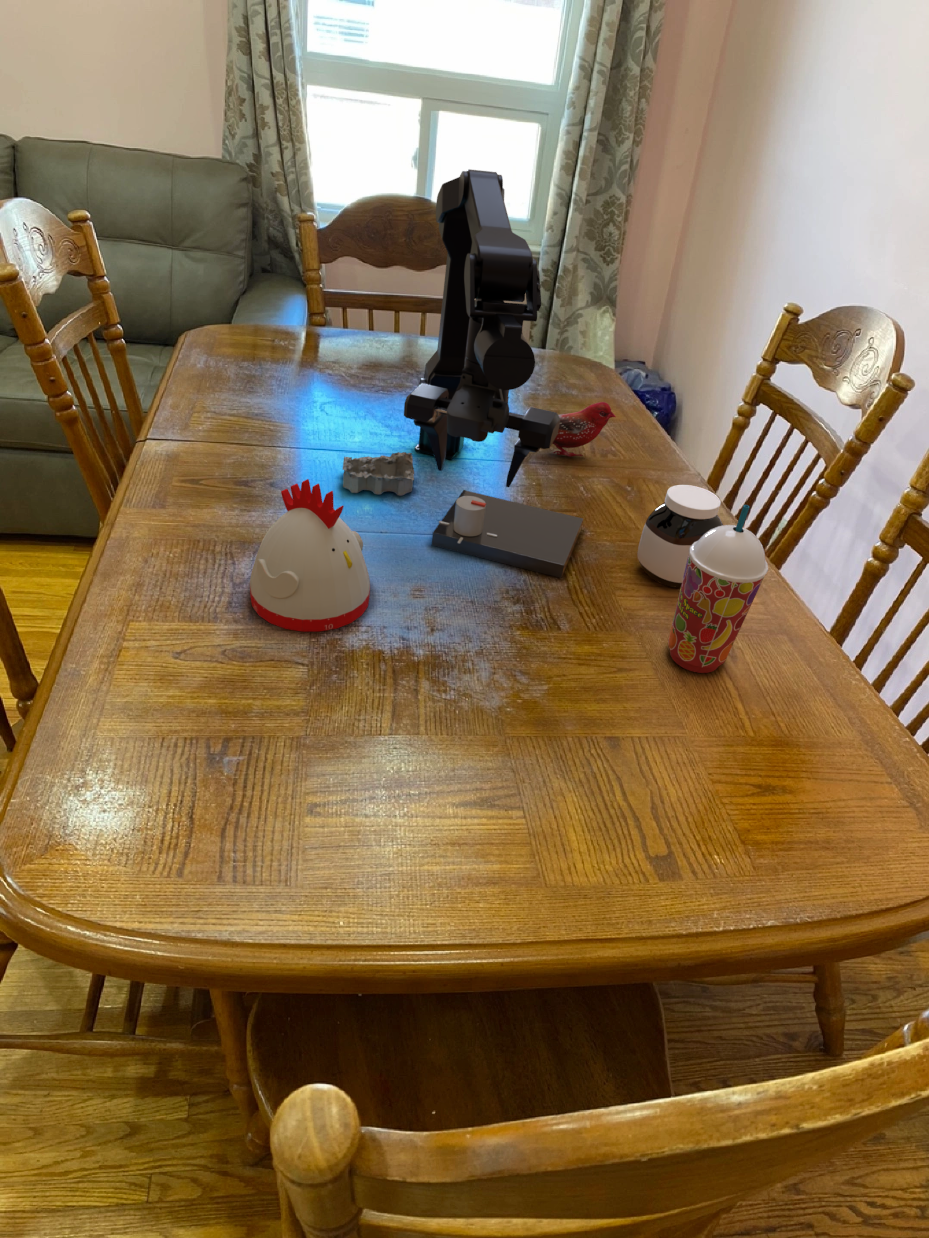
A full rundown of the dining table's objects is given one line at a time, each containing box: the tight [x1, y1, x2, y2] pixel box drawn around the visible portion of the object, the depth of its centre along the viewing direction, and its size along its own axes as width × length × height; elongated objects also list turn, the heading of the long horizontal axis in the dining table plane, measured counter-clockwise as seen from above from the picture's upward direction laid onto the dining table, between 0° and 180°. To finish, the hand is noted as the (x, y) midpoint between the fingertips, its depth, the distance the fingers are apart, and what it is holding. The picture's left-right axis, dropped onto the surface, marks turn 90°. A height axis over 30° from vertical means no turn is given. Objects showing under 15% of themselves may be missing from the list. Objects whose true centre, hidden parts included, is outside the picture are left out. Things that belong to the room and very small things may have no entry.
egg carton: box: [341, 451, 415, 497], centre depth 122 cm, size 11×8×4 cm
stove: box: [431, 489, 584, 579], centre depth 113 cm, size 18×15×2 cm
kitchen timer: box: [249, 478, 371, 633], centre depth 93 cm, size 14×14×15 cm
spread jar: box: [636, 484, 724, 589], centre depth 109 cm, size 12×11×12 cm
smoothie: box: [667, 504, 769, 674], centre depth 90 cm, size 8×8×20 cm
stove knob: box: [453, 496, 486, 536], centre depth 110 cm, size 4×4×4 cm
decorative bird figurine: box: [552, 401, 617, 458], centre depth 136 cm, size 3×18×10 cm, turn 89°
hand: (474, 478), depth 106 cm, fingers open, 9 cm apart
